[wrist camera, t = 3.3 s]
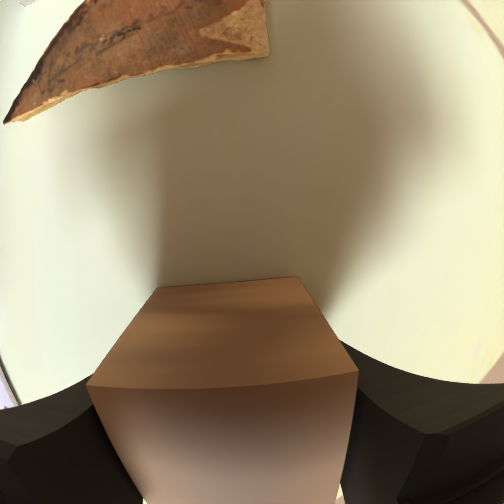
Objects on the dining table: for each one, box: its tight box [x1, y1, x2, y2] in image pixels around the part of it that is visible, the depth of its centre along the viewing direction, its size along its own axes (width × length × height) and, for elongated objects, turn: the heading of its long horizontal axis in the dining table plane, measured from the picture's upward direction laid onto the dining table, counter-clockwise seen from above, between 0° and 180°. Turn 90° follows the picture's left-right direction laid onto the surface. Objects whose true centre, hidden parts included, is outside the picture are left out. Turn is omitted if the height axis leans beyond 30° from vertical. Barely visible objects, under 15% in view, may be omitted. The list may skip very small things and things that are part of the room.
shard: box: [3, 0, 270, 125], centre depth 8 cm, size 11×8×2 cm
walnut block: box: [86, 277, 359, 504], centre depth 8 cm, size 5×5×6 cm
